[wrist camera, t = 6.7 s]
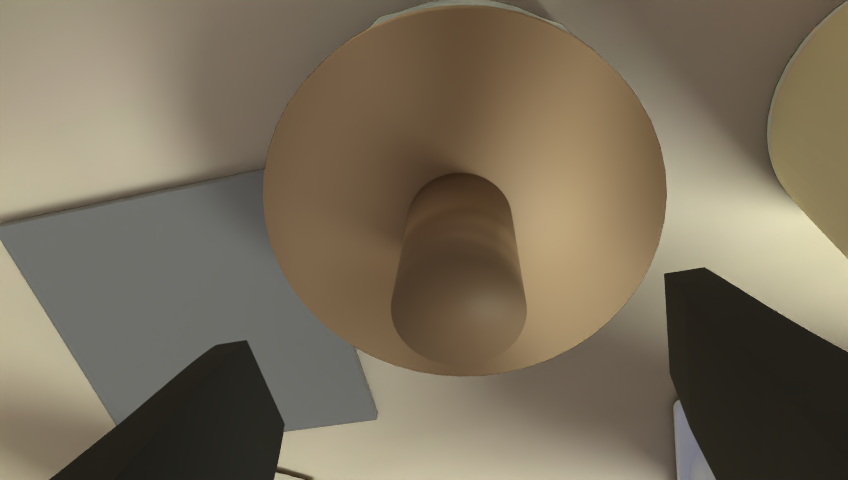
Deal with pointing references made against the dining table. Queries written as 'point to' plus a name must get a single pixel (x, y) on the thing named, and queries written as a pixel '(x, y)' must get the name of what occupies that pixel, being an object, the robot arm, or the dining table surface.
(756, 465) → the robot arm
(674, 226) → the dining table surface
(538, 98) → the lid
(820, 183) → the coffee cup
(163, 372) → the mat
